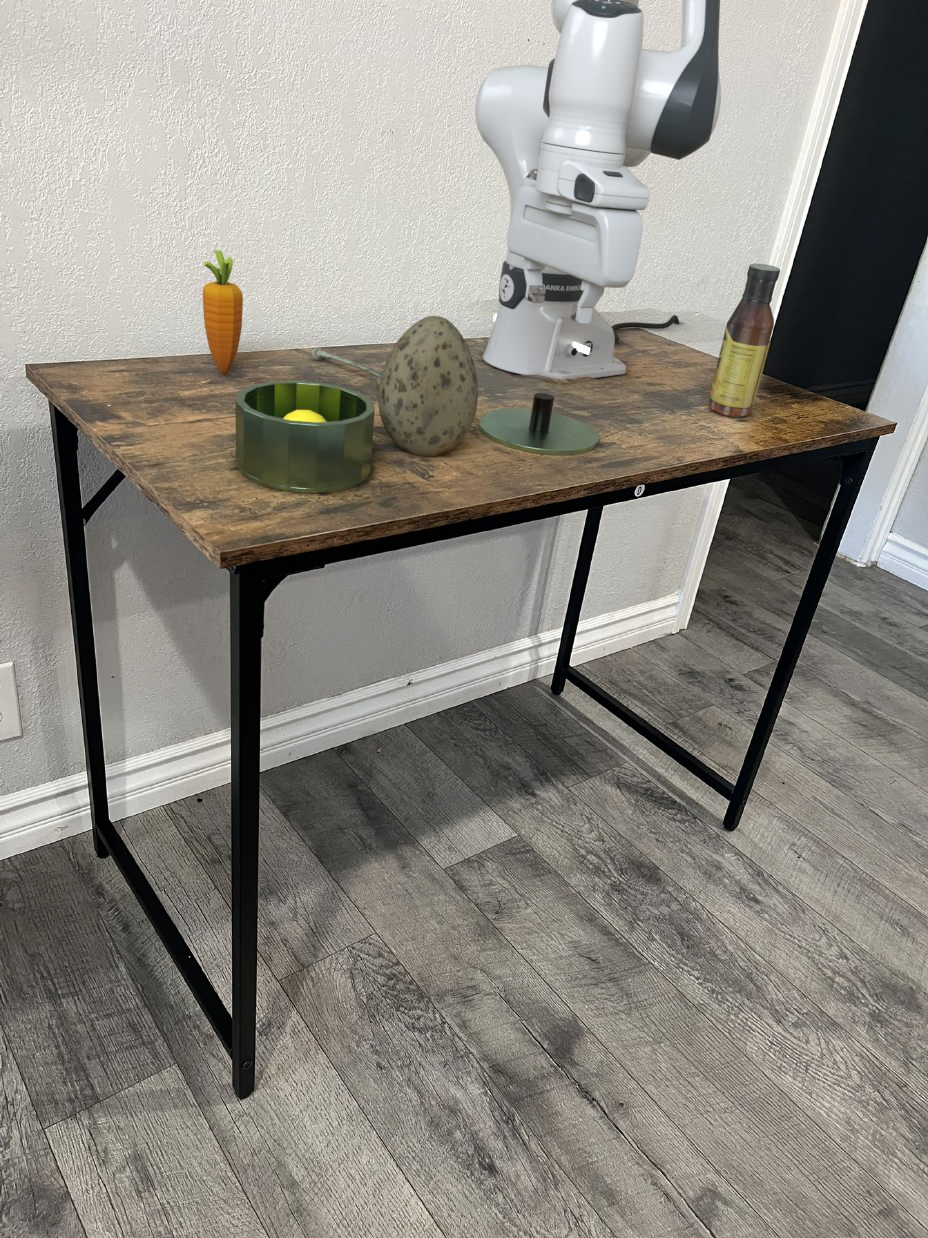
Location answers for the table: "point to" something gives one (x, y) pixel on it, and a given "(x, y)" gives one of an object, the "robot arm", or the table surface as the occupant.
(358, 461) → the pot
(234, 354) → the carrot
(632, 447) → the table surface
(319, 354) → the soupspoon
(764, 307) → the sauce bottle
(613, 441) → the table surface
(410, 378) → the decorative egg
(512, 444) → the pot lid
